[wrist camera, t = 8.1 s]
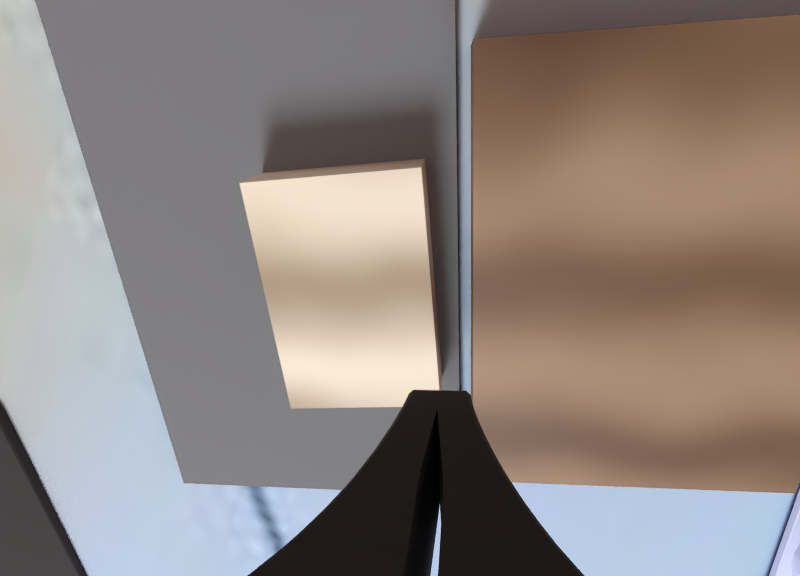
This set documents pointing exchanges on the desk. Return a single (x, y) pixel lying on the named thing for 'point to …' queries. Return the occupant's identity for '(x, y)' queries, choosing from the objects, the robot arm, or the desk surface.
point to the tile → (348, 281)
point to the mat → (223, 203)
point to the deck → (639, 254)
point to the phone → (29, 517)
